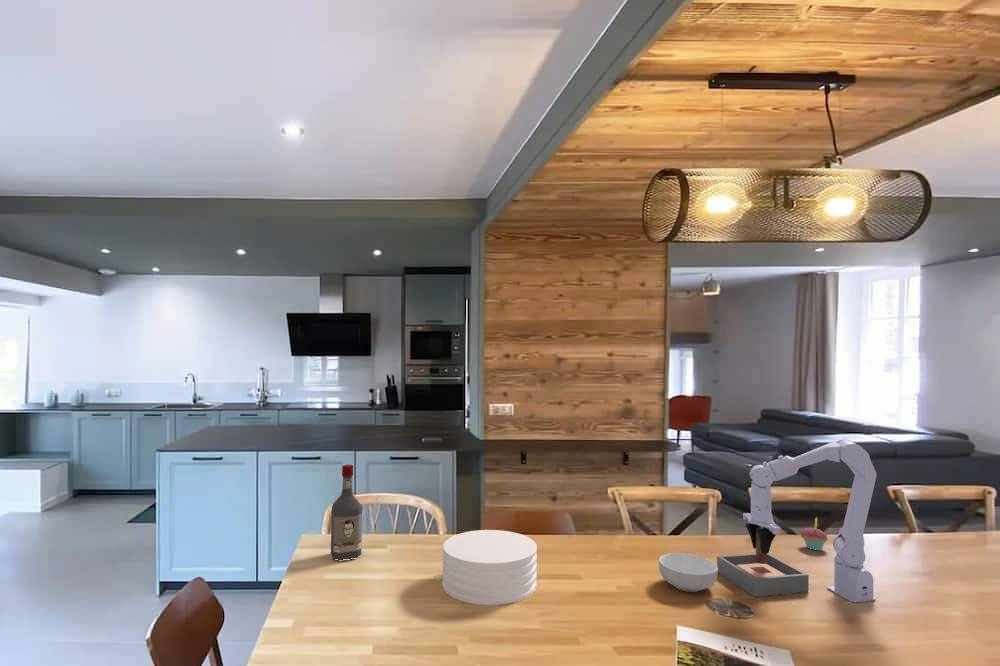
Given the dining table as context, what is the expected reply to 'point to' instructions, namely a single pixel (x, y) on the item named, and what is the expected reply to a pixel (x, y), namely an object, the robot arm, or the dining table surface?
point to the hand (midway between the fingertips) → (760, 550)
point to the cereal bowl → (688, 571)
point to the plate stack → (489, 567)
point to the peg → (760, 550)
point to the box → (762, 575)
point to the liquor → (346, 521)
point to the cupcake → (814, 537)
